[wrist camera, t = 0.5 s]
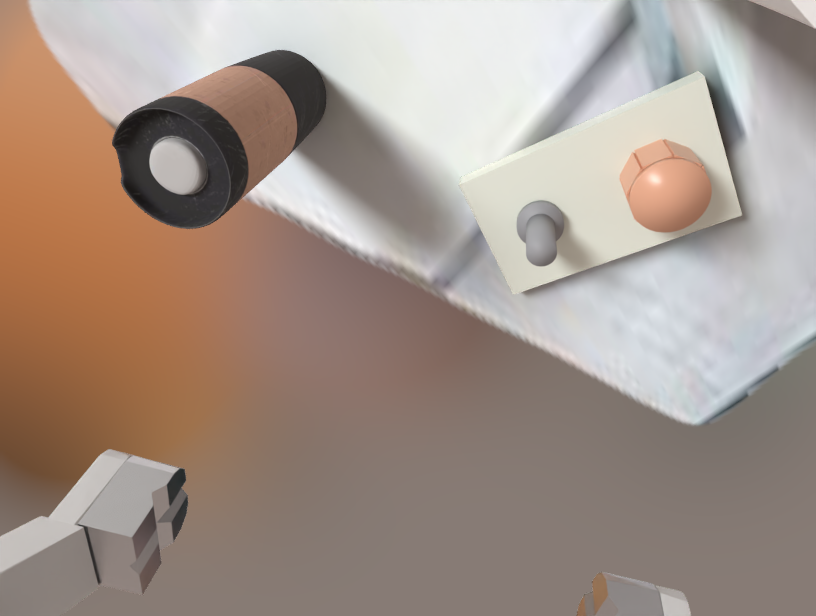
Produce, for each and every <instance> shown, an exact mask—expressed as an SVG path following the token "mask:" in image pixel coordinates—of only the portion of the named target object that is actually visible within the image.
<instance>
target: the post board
mask: <svg viewBox="0 0 816 616" xmlns="http://www.w3.org/2000/svg"><path fill="white" fill-rule="evenodd" d="M660 139H662V140H664V139H667V140H669V141H672V142H675V143H678V144H680V145H683V146H686V147H689V148H690V149H691V150H692V151H693V153H694V154H695V155H696V157H697V158H698V159H699V160H700V162H701V163H702V164H703V166H704V168H705V171H706V174H707V176H708V178H709V180H710V183H711V187H712V194H711V200H710V203H709V205H708V207H707V209H706V211H705V212H704V213H703V215H702V216H701V217H700V218H699V219H698V220H697V221H695V222H694V223H693V224H691V225H690V226H688V227H686V228H684V229H681V230H678V231H674V232H666V233H664V232H655V231H652V230H649V229H647V228H645V227H643V226H642V225H641V224H639V223H638V222H636V220H634V217H633V215H632V212H631V209H630V207H629V204H628V201H627V199H626V196H625V193H624V190H623V188H622V185H621V182H620V179H619V178H620V176H619V175H620V174H621V172H622V170H623V168H624V166H625V164H626V162H627V161H628V159H629V157H630V155H631V153H632V152H634V153H635V151H634V150H636V149H638V148H641V147H643V146H645V145H648V144H650V143H653V142H655V141H657V140H660ZM459 186H460V188H461V190H462V192H463V194H464V196H465V198H466V200H467V202H468V204H469V206H470V208H471V210H472V212H473V215H474V217H475V219H476V221H477V223H478V225H479V227H480V229H481V231H482V233H483V235H484V237H485V239H486V241H487V243H488V245H489V247H490V249H491V251H492V253H493V255H494V257H495V259H496V261H497V263H498V265H499V267H500V269H501V271H502V273H503V275H504V277H505V279H506V281H507V283H508V285H509V287H510V289H511V291H512V293H513V295H514V294H517V293H520V292H523V291H526V290H529V289H532V288H534V287H537V286H540V285H543V284H546V283H549V282H552V281H555V280H557V279H560V278H563V277H566V276H569V275H572V274H575V273H578V272H581V271H583V270H586V269H589V268H592V267H595V266H598V265H601V264H604V263H606V262H609V261H612V260H615V259H618V258H621V257H624V256H627V255H629V254H632V253H635V252H638V251H641V250H644V249H647V248H650V247H652V246H655V245H658V244H661V243H664V242H667V241H670V240H673V239H675V238H678V237H681V236H684V235H687V234H690V233H693V232H696V231H698V230H701V229H704V228H707V227H710V226H713V225H716V224H719V223H721V222H724V221H727V220H730V219H733V218H736V217H739V216H742V213H741V209H740V205H739V202H738V198H737V194H736V190H735V187H734V183H733V179H732V176H731V172H730V168H729V165H728V161H727V157H726V154H725V150H724V146H723V142H722V139H721V135H720V131H719V128H718V124H717V120H716V117H715V113H714V109H713V106H712V102H711V98H710V94H709V91H708V87H707V83H706V80H705V76H703V75H702V74H701V73H700V72H698V71H697V72H695V73H693V74H690V75H688V76H686V77H684V78H681V79H679V80H677V81H675V82H672V83H670V84H668V85H666V86H663V87H661V88H659V89H657V90H654V91H652V92H650V93H648V94H646V95H643V96H641V97H639V98H637V99H634V100H632V101H630V102H628V103H625V104H623V105H621V106H619V107H616V108H614V109H612V110H610V111H607V112H605V113H603V114H601V115H598V116H596V117H594V118H592V119H590V120H587V121H585V122H583V123H581V124H578V125H576V126H574V127H572V128H569V129H567V130H565V131H563V132H560V133H558V134H556V135H554V136H551V137H549V138H547V139H545V140H542V141H540V142H538V143H536V144H534V145H531V146H529V147H527V148H525V149H522V150H520V151H518V152H516V153H513V154H511V155H509V156H507V157H504V158H502V159H500V160H498V161H495V162H493V163H491V164H489V165H486V166H484V167H482V168H480V169H478V170H475V171H473V172H471V173H469V174H466V175H464V176H462V177H461V179H460V183H459Z"/></svg>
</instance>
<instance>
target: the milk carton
mask: <svg viewBox="0 0 816 616" xmlns="http://www.w3.org/2000/svg"><path fill="white" fill-rule="evenodd" d="M748 1H751V2H754V3H756V4H759V5H761V6H764V7H766V8H768V9H771V10H773V11H776V12H778V13H780V14H783V15H785V16H787V17H790V18H792V19H794V20H797V21H799V22H801V23H804V24H806V25H808V26H810V27H813V28H815V29H816V0H748Z"/></svg>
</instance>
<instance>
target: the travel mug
mask: <svg viewBox="0 0 816 616" xmlns="http://www.w3.org/2000/svg"><path fill="white" fill-rule="evenodd" d="M325 106H326V91H325V86H324V83H323V80H322V78H321V76H320V74H319V73H318V71H317V70H316V68H315V67H314V66H313V65H312V64H311V63H310V62H309V61H308V60H307V59H305V58H304V57H302V56H301V55H299V54H296V53H294V52H291V51H285V50H277V51H271V52H268V53H265V54H262V55H259V56H256V57H253V58H250V59H248V60H245V61H242V62H239V63H237V64H234V65H231V66H228V67H226V68H223V69H221V70H219V71H217V72H215V73H212V74H210V75H208V76H206V77H204V78H202V79H200V80H198V81H196V82H193V83H191V84H189V85H187V86H185V87H183V88H181V89H179V90H177V91H174V92H172V93H170V94H168V95H166V96H164V97H162V98H160V99H158V100H155V101H153V102H151V103H149V104H147V105H145V106H143V107H141V108H139V109H137V110H135V111H133V112H132V113H130V114H129V115H128V116H126V117H125V118H124V119H123V121H122V122H121V123H120V124H119V126H118V127H117V129H116V132H115V134H114V137H113V140H112V145H113V146H114V147H115V149H116V151H117V154H118V159H119V163H120V168H121V173H122V178H121V184H122V187H123V189H124V190H125V192H126V193H127V195H128V196H129V197H130V198H131V199H132V201H133V202H134V203H135V204H136V205H137V206H138V207H140V208H141V209H142V210H143V211H144V212H145V213H147V214H148V215H150V216H151V217H152V218H154V219H156V220H158V221H160V222H162V223H165V224H167V225H170V226H173V227H178V228H186V229H193V228H200V227H204V226H207V225H209V224H211V223H213V222H215V221H216V220H218V219H219V218H220V217H221V216H222V215H224V214H225V213H226V212H227V211H228V210H229V209H230V208H232V207H233V206H234V205H235V204H236V203H237V202H238V201H239V200H240V199H242V198H243V197H244V196H245V195H246V194H247V193H248V192H249V191H250V190H252V189H253V188H254V187H255V186H256V185H257V184H258V183H259V182H260V181H262V180H263V179H264V178H265V177H266V176H267V175H268V174H269V173H271V172H272V171H273V170H274V169H275V168H276V167H277V166H278V165H279V164H281V163H282V162H283V161H284V160H285V159H286V158H287V157H288V156H289V155H290V154H291V153H292V151H293V150H294V149H295V148H296V147H297V146H298V145H299V144H300V143H301V142H302V141H303V140H304V139H305V137H306V136H307V135H308V134H309V133H310V132H311V131H312V130H313V129H314V128H315V126H316V125H317V124H318V123H319V121H320V120H321V118H322V116H323V114H324V111H325Z"/></svg>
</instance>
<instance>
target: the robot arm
mask: <svg viewBox="0 0 816 616" xmlns="http://www.w3.org/2000/svg"><path fill="white" fill-rule="evenodd" d="M185 481H186V475H185V469H183V468H179V467H175V466H171V465H168V464H164V463H160V462H156V461H152V460H149V459H144V458H141V457H137V456H135V455H131V454H127V453H123V452H118V451H115V450H111V449H108V450H107V451H105V452H104V453H102V454H101V455H99V457H98V458H97V459H96V460H95V462H94V463H93V464H92V465H91V466H90V468H89V469H88V470H87V471H86V472H85V474H84V475H83V476H82V477H81V479H80V480H79V481H78V482H77V484H76V485H75V486H74V487H73V488H72V489H71V491H70V492H69V493H68V495H67V496H66V497H65V498H64V499H63V501H62V502H61V503H60V504H59V505H58V507H57V508H56V509H55V510H54V511H53V513H52V514H51V515H50V516H49V517H44V516H40V517H38V518H36V519H34V520H32V521H30V522H28V523H26V524H24V525H22V526H20V527H18V528H16V529H14V530H12V531H10V532H8V533H6V534H4V535H2V536H0V616H61V615H63V614H64V613H65V612H67V611H68V610H70V609H71V608H72V607H74V606H75V605H76V604H78V603H79V602H80V601H82V600H83V599H85V598H86V597H87V596H89V595H90V594H92V593H93V592H94V591H95V590H97V589H98V588H99V585H101V586H106V587H110V588H114V589H118V590H123V591H127V592H131V593H136V594H140V595H143V594H144V592H145V590H146V589H147V587H148V585H149V583H150V582H151V580H152V578H153V576H154V575H155V573H156V571H157V570H158V568H159V566H160V565H161V556H160V550H162V549H163V548H165V547H166V546H168V545H169V544H172V543H173V542H174V540H175V539H176V537H177V535H178V533H179V531H180V530H181V527H182V525H183V522H184V519H185V516H186V513H187V507H188V495H187V494H186V493H185V492H184V490H183V489H182V486H183V485H184V483H185ZM592 587H593V591H592V592H590V593H587V594H584V596H583V598H582V600H581V602H580V604H579V606H578V611H577V615H576V616H691V613H690V609H689V605H688V601H687V598H686V597H685V595H684V594H683V593H682V592H680V591H678V590H673V589H669V588H664V587H660V586H656V585H653V584H651V583H647V582H643V581H638V580H634V579H630V578H626V577H621V576H617V575H613V574H608V573H604V572H600V573H598V574H597V575H596V576H595V578H594V579H593V581H592Z"/></svg>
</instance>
